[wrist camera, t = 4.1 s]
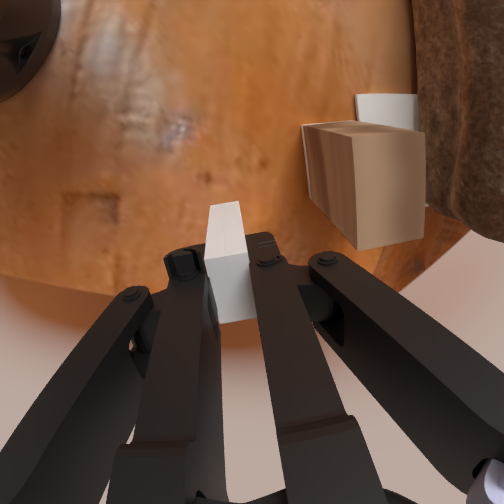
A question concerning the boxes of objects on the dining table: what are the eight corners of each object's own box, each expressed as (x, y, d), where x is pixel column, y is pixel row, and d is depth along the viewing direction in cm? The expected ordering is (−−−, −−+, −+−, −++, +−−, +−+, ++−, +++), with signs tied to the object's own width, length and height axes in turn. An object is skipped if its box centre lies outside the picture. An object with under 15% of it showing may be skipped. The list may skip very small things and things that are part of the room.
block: (309, 198, 30) (357, 251, 19) (300, 125, 27) (351, 137, 16) (357, 191, 30) (423, 238, 19) (352, 120, 27) (424, 132, 16)
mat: (363, 214, 31) (365, 216, 31) (354, 94, 26) (356, 94, 26) (475, 197, 32) (478, 198, 31) (475, 98, 26) (478, 98, 26)
